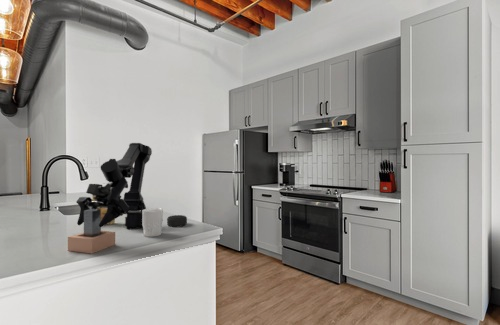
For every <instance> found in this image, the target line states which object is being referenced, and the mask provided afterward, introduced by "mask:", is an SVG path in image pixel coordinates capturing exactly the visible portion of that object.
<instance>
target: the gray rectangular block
mask: <svg viewBox="0 0 500 325" xmlns="http://www.w3.org/2000/svg"><path fill="white" fill-rule="evenodd" d="M100 222H101V209H89V210H84V222H83V232H84V237H95V236H99V235H101V231H102V227H100V226H99V224H100Z"/></svg>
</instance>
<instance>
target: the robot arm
mask: <svg viewBox="0 0 500 325" xmlns="http://www.w3.org/2000/svg"><path fill="white" fill-rule="evenodd" d="M152 152H153V150H152V148H151V147H150V146H149V145H146V144H143V143H141V142H131V143H129V144H128V148H127V149H126V152H125V153H124V155H123V157H121V159H119V160H116V158H109V160H107V161H105V162H103V163H102V164H101V165H100V171H101V172H102V174H103V177H104V178H105V181H107V182H106V183H102V184H99V183H89V184H88V187H87V189H86V191H85V192H86V193H87V194H90V195H94V199H96V200H97V201H93V200H92V198H91V197H90V196H80V197H78V199H77V200H76V204H78V206H79V209H80V212H79V215H78V219H77V223H76V224H77V225H78V226H81V225H82V224H84V210H89V209H96V208H97V207H102V208H107V212H106V214H105V215H104V217H103V219H102V220H101V222H100V224H99V226H100V227H101V228H103V227H104V226H106V224H107V223H109V222H111V221H112V220H114V219H115V220H116V219H117V218H119V217H121V216H124V215H126V216H125V217H124V219H125V220H124V227H125V228H126V229H127V230H132V229H141V228H142V229H143V218H142V210H144V209H147V207H146V204H145V202H144V197H143V195H142V193H141V192H142V186H143V182H144V181H143V180H144V179H143V178H144V175H145V168H146V164H147V163H148V162H149V161H150V160H151V156H152V154H153V153H152ZM128 178H131V180H130V186H129V185H128V183H129V182H128V181H127V179H128ZM128 188H129V191H127V192H124V189H128ZM122 192H124V194H123V198H122V195H121V194H122Z"/></svg>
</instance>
